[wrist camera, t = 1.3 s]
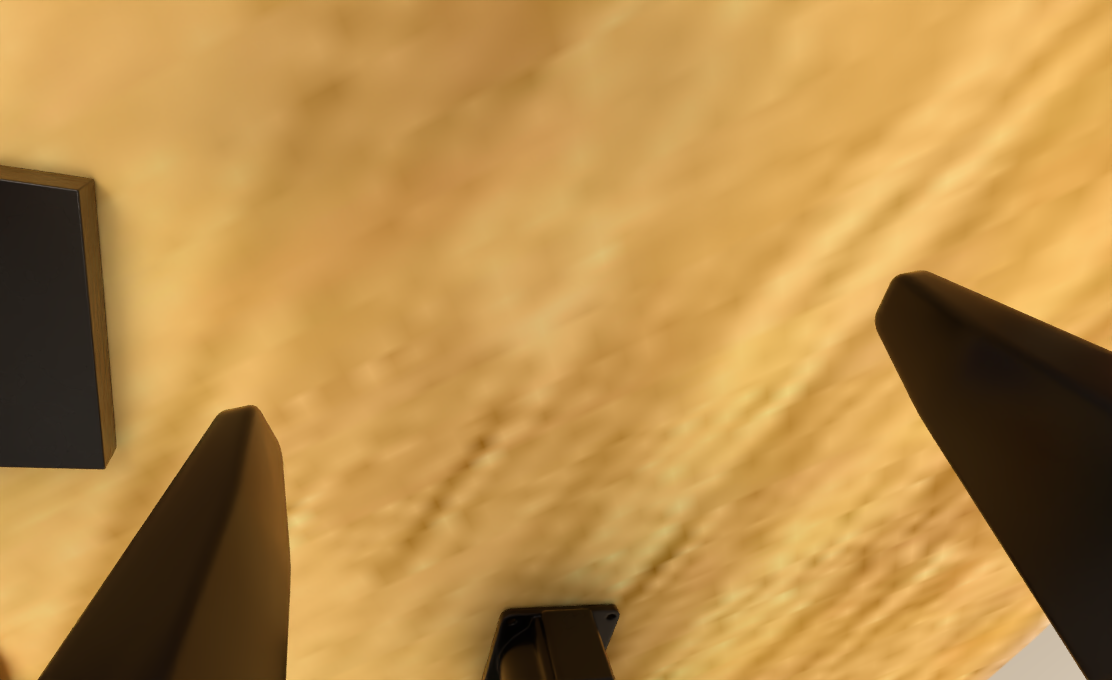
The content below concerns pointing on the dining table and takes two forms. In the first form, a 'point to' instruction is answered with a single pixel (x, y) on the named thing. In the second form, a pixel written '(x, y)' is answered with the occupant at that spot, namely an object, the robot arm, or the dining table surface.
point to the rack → (52, 325)
